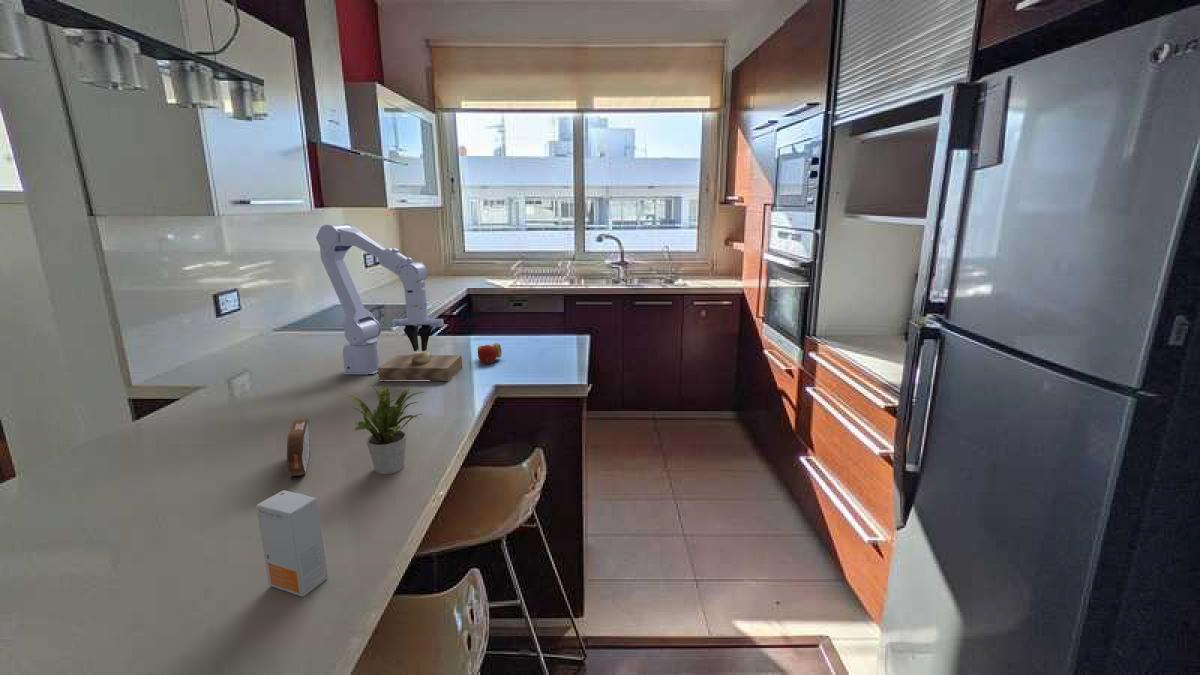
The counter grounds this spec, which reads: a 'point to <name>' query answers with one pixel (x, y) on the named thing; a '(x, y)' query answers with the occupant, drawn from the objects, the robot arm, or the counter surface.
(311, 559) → the skincare box
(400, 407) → the house plant
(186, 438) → the counter surface
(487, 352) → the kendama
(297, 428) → the tin
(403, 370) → the board
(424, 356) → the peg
